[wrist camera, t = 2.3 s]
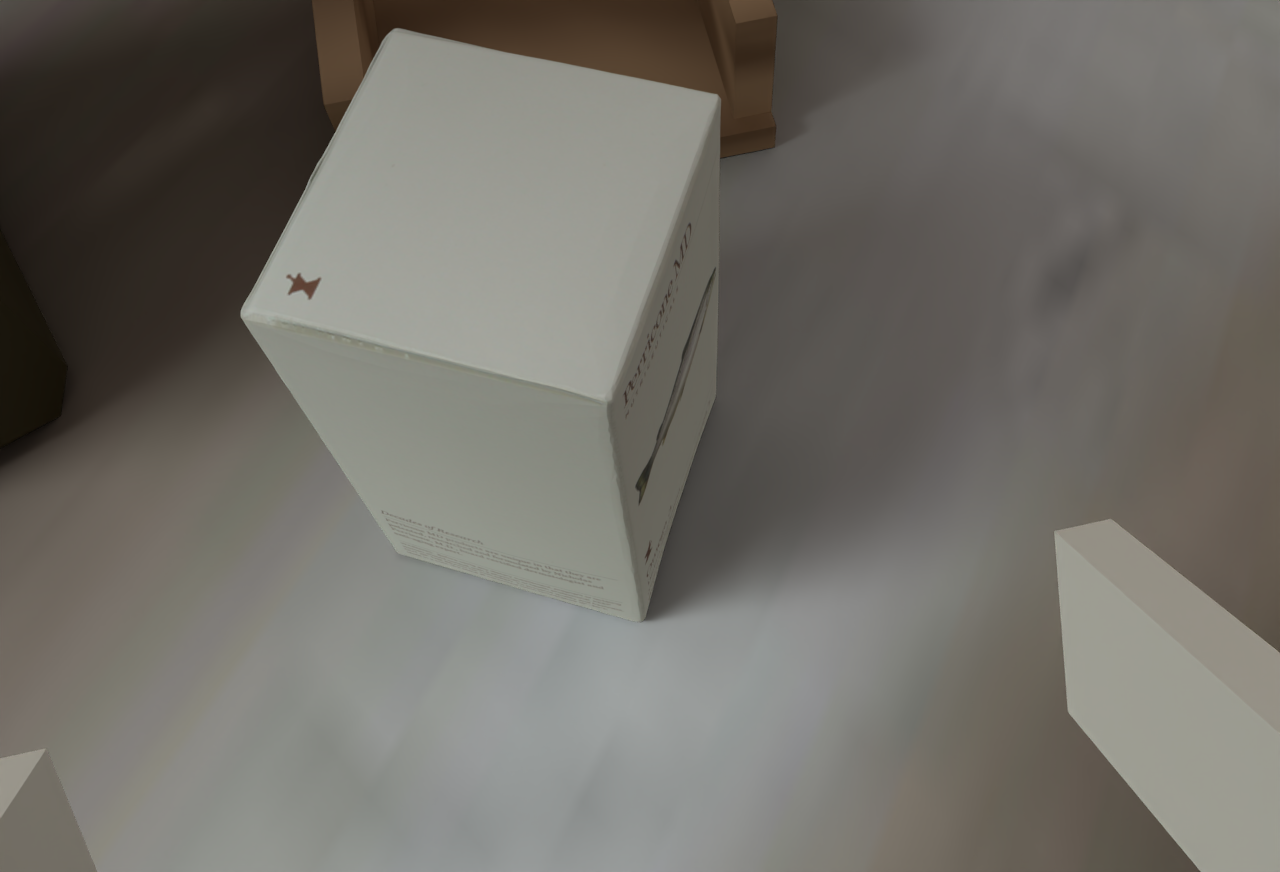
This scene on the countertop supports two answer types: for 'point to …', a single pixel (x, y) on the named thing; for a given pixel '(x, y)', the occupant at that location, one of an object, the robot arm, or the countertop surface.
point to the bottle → (25, 357)
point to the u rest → (580, 46)
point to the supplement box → (508, 312)
